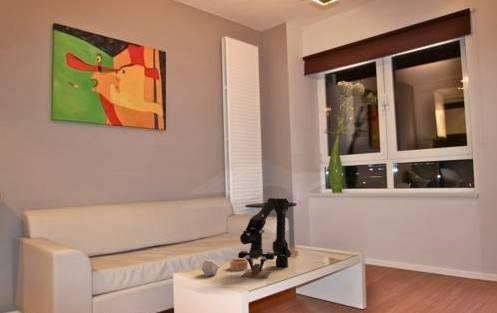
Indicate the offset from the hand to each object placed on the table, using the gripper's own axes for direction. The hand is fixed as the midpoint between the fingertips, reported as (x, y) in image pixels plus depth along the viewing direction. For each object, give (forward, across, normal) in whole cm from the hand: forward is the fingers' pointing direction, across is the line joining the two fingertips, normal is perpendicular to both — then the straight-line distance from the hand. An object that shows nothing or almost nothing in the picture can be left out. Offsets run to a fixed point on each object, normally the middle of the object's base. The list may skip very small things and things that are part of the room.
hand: (256, 271), depth 194 cm
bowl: (+2, -12, +10) cm, 16 cm away
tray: (+2, 0, 0) cm, 2 cm away
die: (+2, -24, -5) cm, 25 cm away
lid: (+1, 0, 0) cm, 1 cm away
